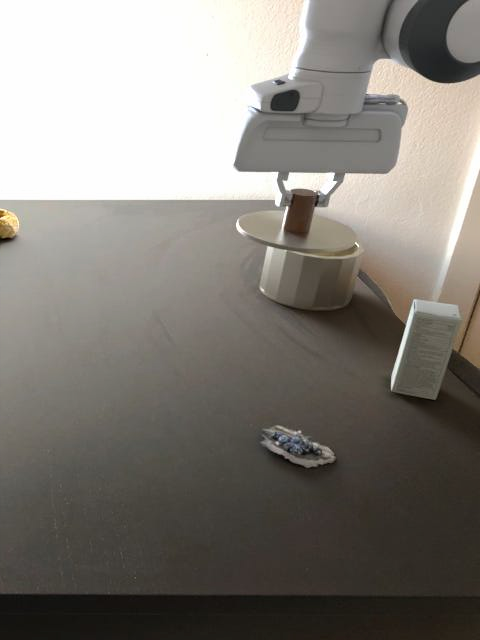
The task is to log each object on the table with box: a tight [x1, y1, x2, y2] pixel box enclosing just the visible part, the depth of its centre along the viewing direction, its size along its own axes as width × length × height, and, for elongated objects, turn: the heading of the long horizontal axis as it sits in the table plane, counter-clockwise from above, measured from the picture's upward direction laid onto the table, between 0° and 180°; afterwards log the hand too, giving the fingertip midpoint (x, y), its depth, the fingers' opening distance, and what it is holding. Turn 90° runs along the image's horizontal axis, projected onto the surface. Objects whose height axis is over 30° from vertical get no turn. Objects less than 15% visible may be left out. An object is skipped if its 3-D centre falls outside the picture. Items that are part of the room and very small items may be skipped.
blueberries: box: [259, 425, 337, 469], centre depth 80 cm, size 7×8×2 cm
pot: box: [259, 239, 365, 312], centre depth 116 cm, size 14×14×8 cm
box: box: [390, 298, 463, 401], centre depth 90 cm, size 5×4×11 cm
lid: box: [236, 187, 358, 253], centre depth 96 cm, size 15×15×6 cm
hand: (300, 205), depth 95 cm, fingers closed on lid, 3 cm apart
